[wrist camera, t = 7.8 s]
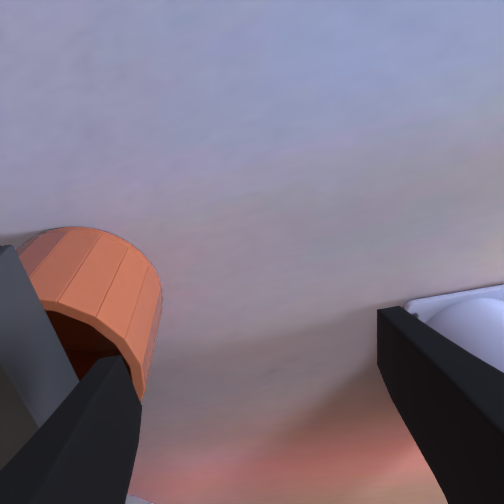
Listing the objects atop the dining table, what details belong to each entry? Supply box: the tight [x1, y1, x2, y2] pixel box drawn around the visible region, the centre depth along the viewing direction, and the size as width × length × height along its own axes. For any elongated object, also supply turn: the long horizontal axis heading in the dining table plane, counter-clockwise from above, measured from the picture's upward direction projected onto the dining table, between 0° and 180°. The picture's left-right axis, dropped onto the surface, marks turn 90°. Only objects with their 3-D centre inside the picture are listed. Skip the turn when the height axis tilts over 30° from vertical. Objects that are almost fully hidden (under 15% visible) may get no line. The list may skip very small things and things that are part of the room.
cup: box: [16, 227, 163, 403], centre depth 18 cm, size 8×8×6 cm
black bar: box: [0, 245, 79, 470], centre depth 14 cm, size 12×3×3 cm, turn 8°
